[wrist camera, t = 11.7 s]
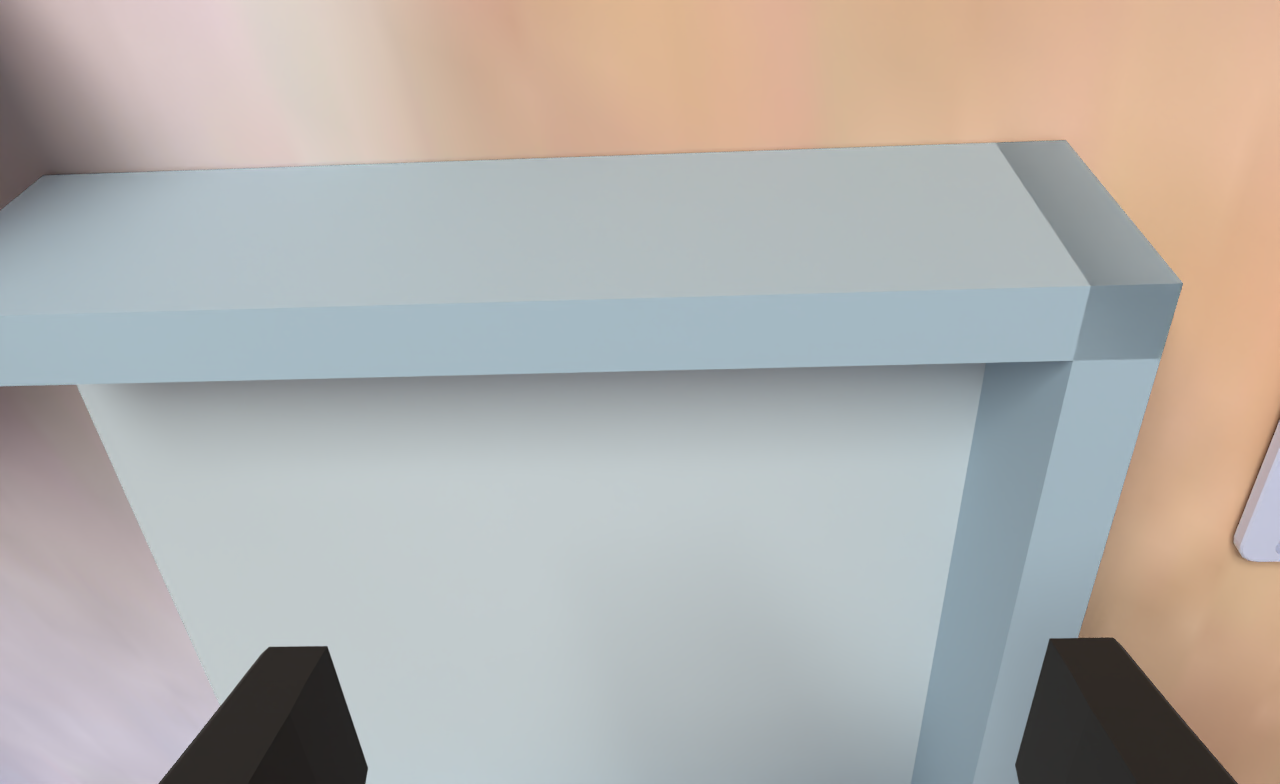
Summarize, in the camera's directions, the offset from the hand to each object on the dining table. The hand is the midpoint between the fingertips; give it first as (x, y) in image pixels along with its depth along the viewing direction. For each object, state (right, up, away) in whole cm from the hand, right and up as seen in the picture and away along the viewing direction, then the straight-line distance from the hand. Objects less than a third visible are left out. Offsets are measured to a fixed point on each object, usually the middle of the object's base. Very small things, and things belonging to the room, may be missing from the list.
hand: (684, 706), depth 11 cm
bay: (-2, -1, +13) cm, 13 cm away
